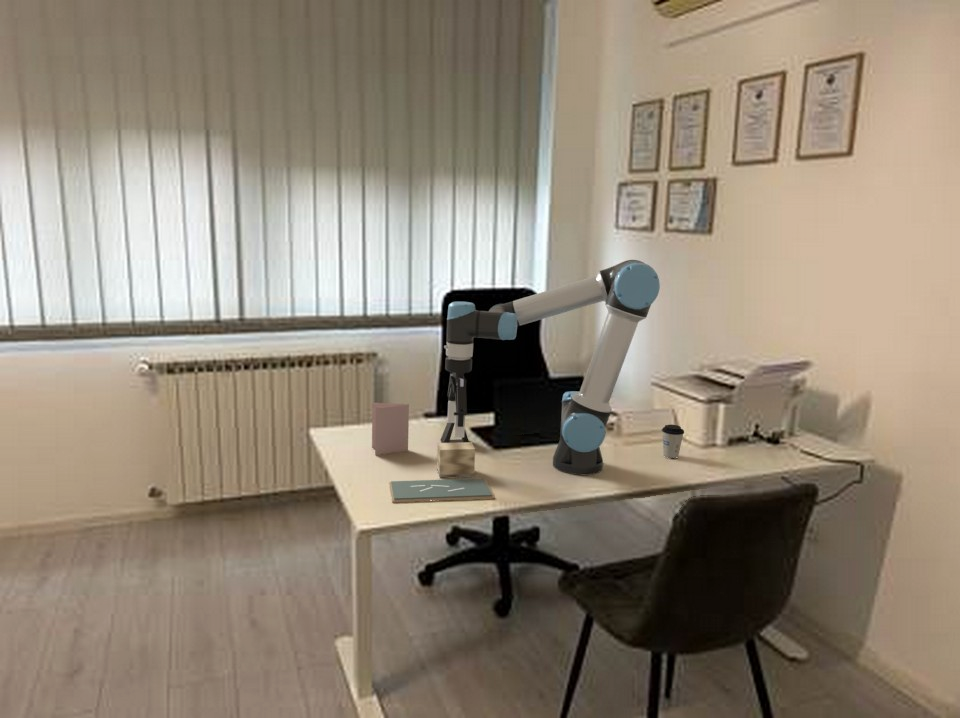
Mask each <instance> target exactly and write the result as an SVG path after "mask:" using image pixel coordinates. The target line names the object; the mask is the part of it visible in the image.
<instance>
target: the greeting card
mask: <svg viewBox="0 0 960 718" xmlns="http://www.w3.org/2000/svg"><path fill="white" fill-rule="evenodd" d="M409 408H410V404H409V403H389V402H387V403H386V402H372V403H371V409H372V410H371V412H372V413H371V420H372V421H371V449H372V448H375V449H374V456H375V455H377V456H381V454H383V455H388V454H392V453H393V452H394V453H398V452H405V450H406V451H408V450H409V426H410V425H409V422H410V421H409V419H410V417H409V415H410V409H409ZM387 453H388V454H387Z"/></svg>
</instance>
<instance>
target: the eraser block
mask: <svg viewBox="0 0 960 718" xmlns="http://www.w3.org/2000/svg"><path fill="white" fill-rule="evenodd" d="M436 450H437V451H436V452H437V454H436V461H437V462H436V471H438V472H437V475H438V474H439V475H438V477H455V478H474V477H475V463H476V462H475V461H476V448H475V446H474V445H473V442H472V441H469V442H461V443H441V442H437V449H436Z"/></svg>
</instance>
